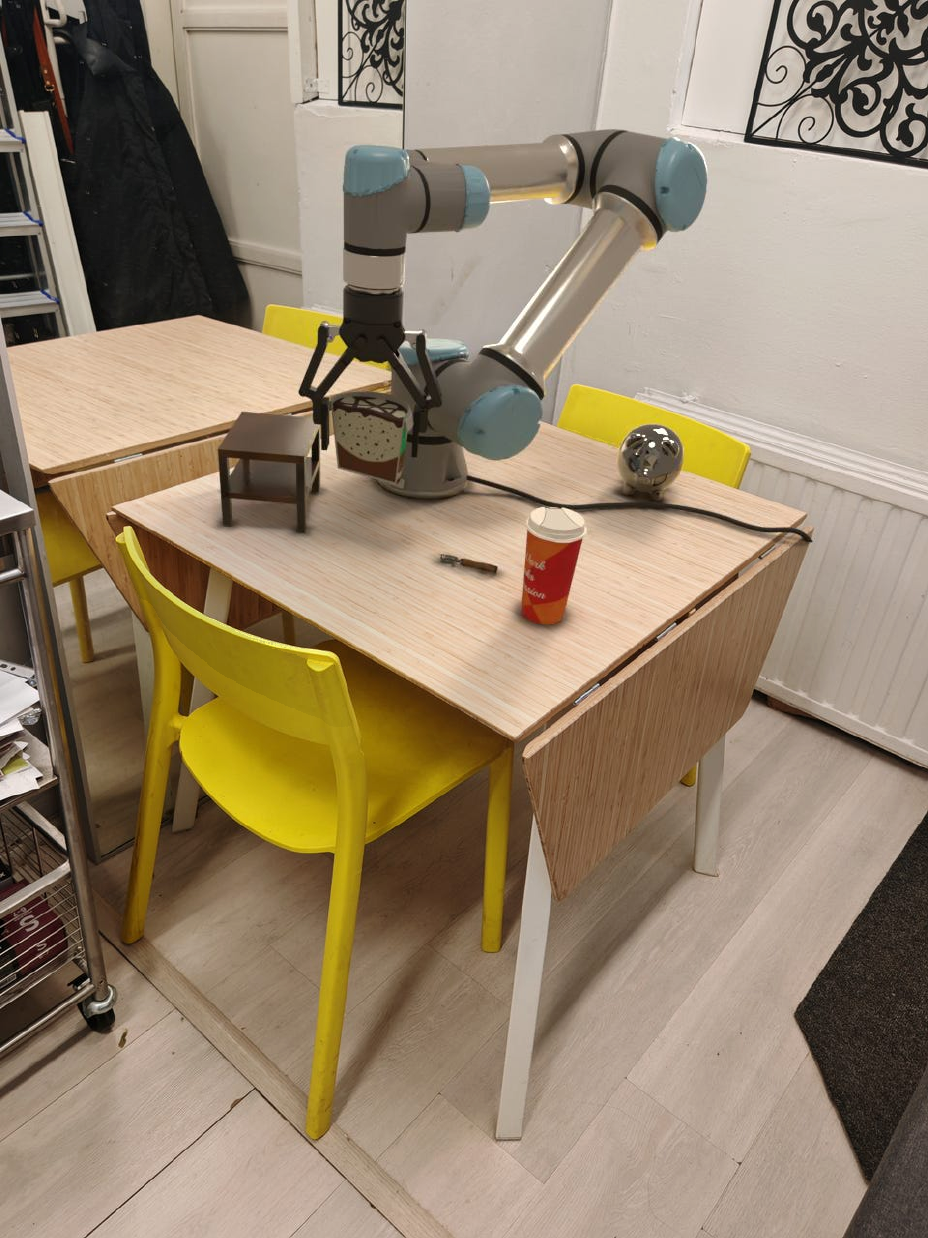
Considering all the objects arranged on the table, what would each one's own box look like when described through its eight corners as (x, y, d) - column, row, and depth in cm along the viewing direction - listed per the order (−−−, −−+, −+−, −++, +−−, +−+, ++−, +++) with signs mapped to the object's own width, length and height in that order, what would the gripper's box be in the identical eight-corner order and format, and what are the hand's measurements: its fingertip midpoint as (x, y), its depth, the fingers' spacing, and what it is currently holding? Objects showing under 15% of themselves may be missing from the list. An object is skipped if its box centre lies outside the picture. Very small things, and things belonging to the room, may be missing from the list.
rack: (320, 489, 144) (320, 418, 138) (305, 532, 132) (304, 456, 125) (245, 483, 144) (241, 411, 137) (222, 526, 131) (217, 448, 125)
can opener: (498, 571, 126) (498, 564, 126) (491, 578, 125) (492, 571, 124) (440, 554, 129) (441, 547, 129) (433, 561, 128) (434, 554, 127)
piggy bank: (604, 502, 149) (616, 437, 143) (617, 469, 162) (629, 408, 155) (671, 516, 147) (686, 450, 141) (679, 481, 159) (693, 419, 153)
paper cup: (509, 596, 121) (522, 502, 114) (565, 598, 122) (581, 505, 115) (517, 629, 115) (531, 531, 107) (576, 630, 116) (594, 534, 108)
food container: (427, 471, 126) (430, 402, 120) (405, 487, 121) (408, 416, 115) (352, 450, 130) (352, 383, 124) (328, 465, 125) (327, 396, 119)
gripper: (469, 287, 115) (457, 446, 127) (282, 271, 114) (287, 432, 126) (469, 301, 109) (456, 467, 121) (271, 285, 108) (277, 453, 120)
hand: (370, 450), depth 123 cm, fingers closed on food container, 12 cm apart
